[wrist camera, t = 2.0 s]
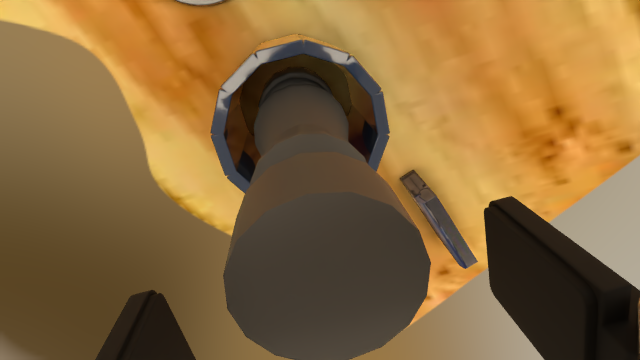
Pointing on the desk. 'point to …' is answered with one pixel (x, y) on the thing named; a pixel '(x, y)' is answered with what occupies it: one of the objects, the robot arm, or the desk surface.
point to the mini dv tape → (438, 219)
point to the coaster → (201, 2)
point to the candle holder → (319, 235)
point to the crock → (228, 119)
